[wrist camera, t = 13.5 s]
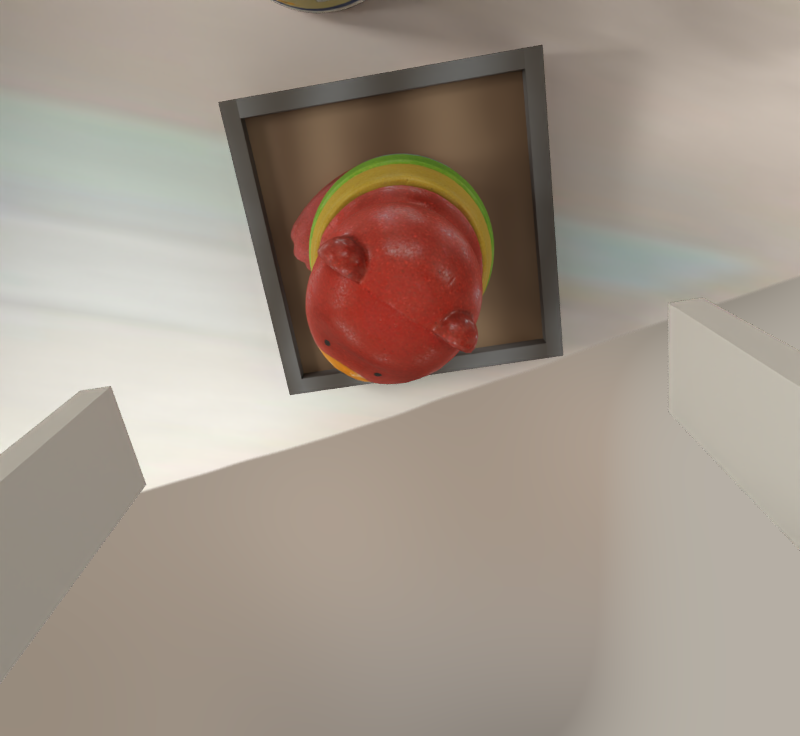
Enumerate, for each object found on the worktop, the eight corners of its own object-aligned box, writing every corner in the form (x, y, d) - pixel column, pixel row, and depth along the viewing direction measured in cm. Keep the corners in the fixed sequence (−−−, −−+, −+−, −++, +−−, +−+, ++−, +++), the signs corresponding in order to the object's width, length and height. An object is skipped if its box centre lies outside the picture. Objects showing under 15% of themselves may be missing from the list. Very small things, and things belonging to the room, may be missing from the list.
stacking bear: (278, 242, 38) (179, 330, 21) (381, 106, 35) (361, 81, 18) (412, 348, 40) (417, 501, 23) (518, 229, 37) (611, 306, 21)
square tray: (301, 367, 45) (290, 395, 40) (240, 106, 38) (218, 102, 34) (546, 331, 44) (563, 355, 39) (525, 55, 37) (542, 44, 33)
